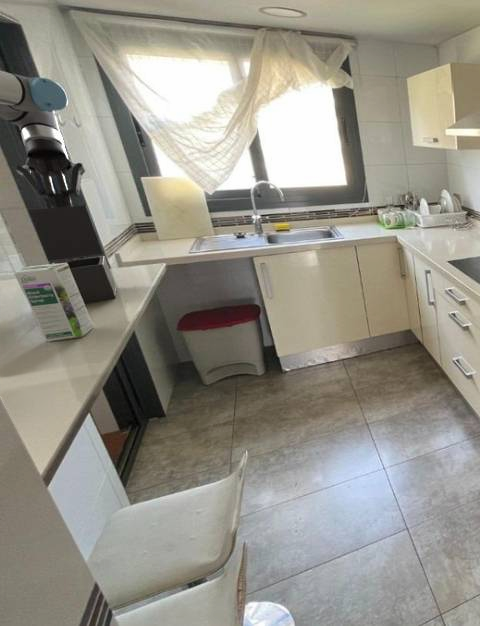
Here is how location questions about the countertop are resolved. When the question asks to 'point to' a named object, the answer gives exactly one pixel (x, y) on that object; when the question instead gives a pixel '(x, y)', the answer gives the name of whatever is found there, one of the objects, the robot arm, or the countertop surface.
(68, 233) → the lid
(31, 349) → the countertop surface
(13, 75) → the robot arm
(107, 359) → the countertop surface
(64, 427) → the countertop surface
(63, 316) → the syrup box
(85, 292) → the dark brown box
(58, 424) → the countertop surface
